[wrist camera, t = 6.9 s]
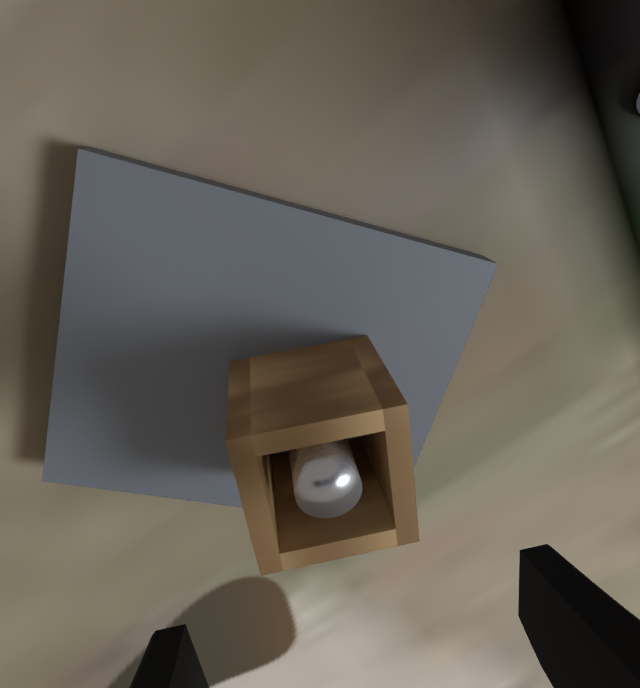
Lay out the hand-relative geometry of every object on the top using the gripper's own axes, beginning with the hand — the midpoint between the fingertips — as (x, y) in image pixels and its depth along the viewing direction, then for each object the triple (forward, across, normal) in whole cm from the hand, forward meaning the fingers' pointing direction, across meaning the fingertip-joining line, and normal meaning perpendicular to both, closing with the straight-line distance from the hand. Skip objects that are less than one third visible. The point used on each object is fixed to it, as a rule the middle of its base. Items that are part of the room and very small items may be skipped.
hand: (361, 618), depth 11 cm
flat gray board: (+10, +2, -2) cm, 11 cm away
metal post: (+10, 0, 0) cm, 10 cm away
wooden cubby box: (+9, 0, 0) cm, 9 cm away
